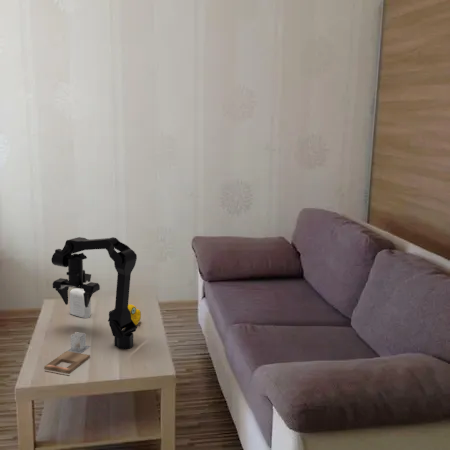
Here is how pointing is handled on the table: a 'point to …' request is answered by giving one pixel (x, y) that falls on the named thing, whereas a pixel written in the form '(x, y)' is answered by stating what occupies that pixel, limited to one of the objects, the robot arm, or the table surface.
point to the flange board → (67, 357)
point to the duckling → (134, 314)
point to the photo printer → (79, 304)
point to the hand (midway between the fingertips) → (76, 305)
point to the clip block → (78, 341)
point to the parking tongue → (81, 351)
